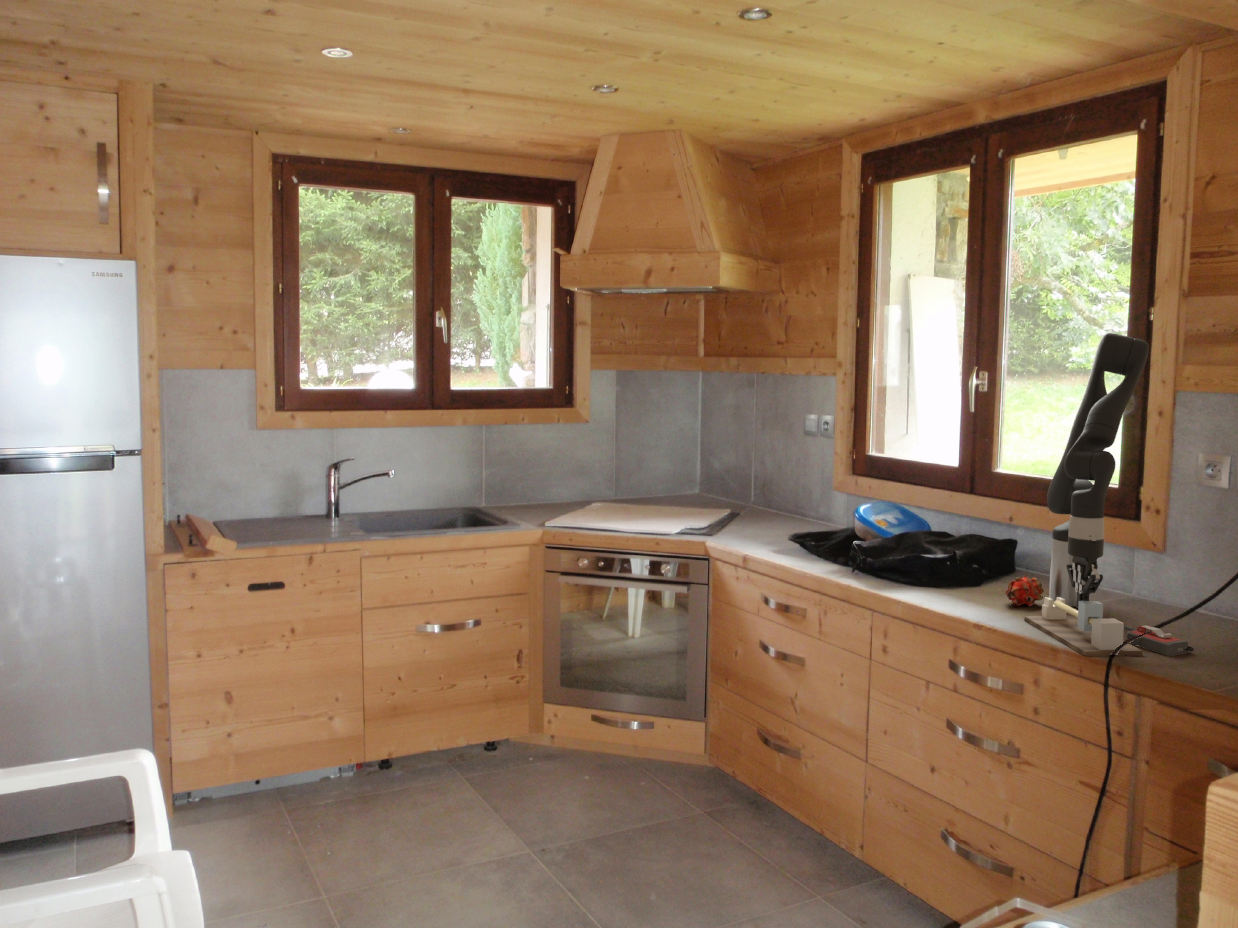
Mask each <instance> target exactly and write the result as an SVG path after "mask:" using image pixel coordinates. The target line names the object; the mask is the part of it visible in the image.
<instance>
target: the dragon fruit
mask: <svg viewBox="0 0 1238 928" xmlns="http://www.w3.org/2000/svg"><path fill="white" fill-rule="evenodd" d="M1044 592H1045V591H1044V588H1043V585H1042V582H1041V581H1040V580H1039V581H1038V578H1037V577H1032V578H1030V577H1028V575H1026V574H1024V575H1023V577H1019V576H1018V577H1016V578H1015V579H1014V580H1011V581H1010V582H1009V583H1008V585H1007V589H1006V591H1005V595H1006V596H1007V598H1008V600H1009V601H1011V603H1010V605H1011V606H1016V607H1020V606H1022V605H1026V606H1027V607H1029V608H1031V606H1033V605H1035V602H1036V601H1041V600H1044V599H1043V598H1044V596H1043V595H1041V594H1043V593H1044Z"/></svg>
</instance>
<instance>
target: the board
mask: <svg viewBox="0 0 1238 928" xmlns="http://www.w3.org/2000/svg"><path fill="white" fill-rule="evenodd" d="M1023 620H1024V621H1026V622H1027V623H1029V624H1030V625H1031V626H1033V627H1035V628H1037V629H1038V630H1040V631H1042V632H1043V633H1045V634H1046V635H1048V636H1050V637H1052V638H1053V639H1055V640H1057V641H1058V642H1060V643H1062V644H1064V645H1065V646H1067V647H1069V648H1071V649H1073V650H1074V651H1075V650H1076V652H1077V653H1079V654H1080V655H1082V656H1083V657H1101V656H1102V657H1104V656H1105V657H1107V656H1108V657H1109V655H1110V654H1111V653H1113V652H1114V650H1099V649H1098V648H1096V647H1094V646H1092V645H1091V638H1092V631H1082V630H1080V629H1078V628H1077V626H1078V618H1076V617H1075V616H1073V615H1066V619H1048V620H1046V619H1044V618H1043V617H1042V615H1040V616H1039V615H1035V616H1033V615H1028V616H1026V615H1025V616H1024V618H1023ZM1124 641H1125V640H1123V642H1124ZM1143 653H1144V650H1143V649H1140V648H1138V647H1137V646H1135V645H1132V644H1127V645H1126V646H1125V647H1124V648H1123V650H1120V651H1119V653H1118V657H1119V655H1127V656H1143Z"/></svg>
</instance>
